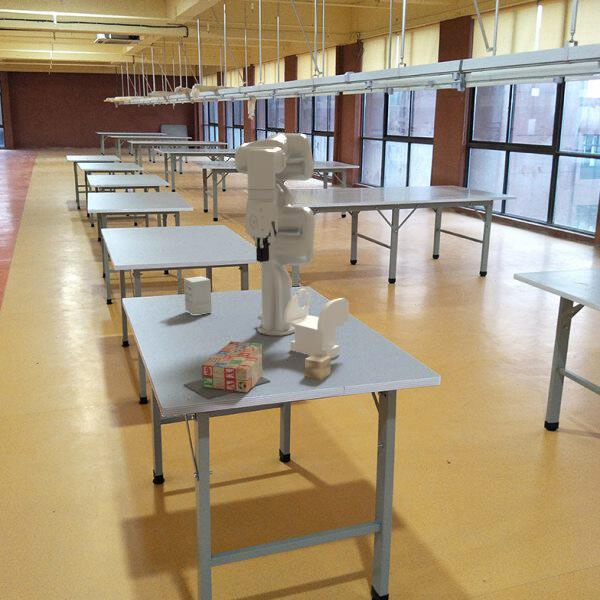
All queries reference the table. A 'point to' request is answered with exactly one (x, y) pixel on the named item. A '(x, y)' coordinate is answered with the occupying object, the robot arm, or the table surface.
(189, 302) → the supplement box
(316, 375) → the beech block
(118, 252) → the table surface
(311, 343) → the white plastic bracket
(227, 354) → the stack of blocks
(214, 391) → the rubber mat
